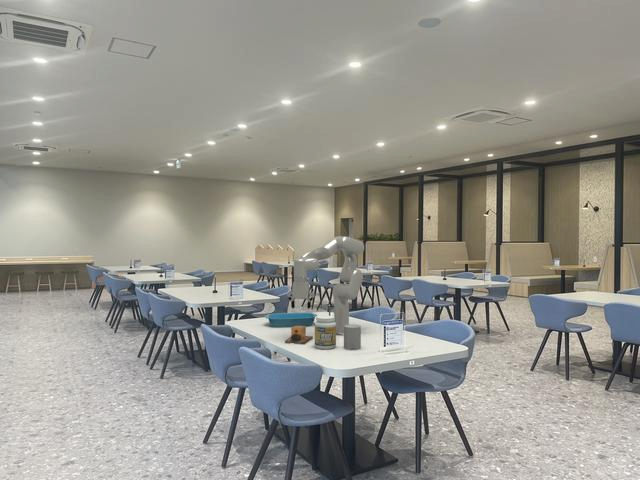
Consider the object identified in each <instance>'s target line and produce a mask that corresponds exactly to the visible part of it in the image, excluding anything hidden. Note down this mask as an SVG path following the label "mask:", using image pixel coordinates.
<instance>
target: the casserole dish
mask: <svg viewBox="0 0 640 480" xmlns="http://www.w3.org/2000/svg"><path fill="white" fill-rule="evenodd" d="M317 316H318V313H313V312H281V313H280V312H278V313H268V314H267V315H265V316H264V318H265V319H268V322H269V324H270V326H271V327H272V328H292V327H294V326H306V327H311V326H312V325H313V324H315V320H316V317H317Z"/></svg>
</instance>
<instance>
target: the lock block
mask: <svg viewBox="0 0 640 480" xmlns="http://www.w3.org/2000/svg"><path fill="white" fill-rule="evenodd" d="M306 328H307V326H294V327H290V330H291V332H290V333H291V335H296V334H299V335H300V341H302V340H303V339H305V338H306V336H307V332H306V331H307V330H306ZM291 335H290V336H291Z"/></svg>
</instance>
